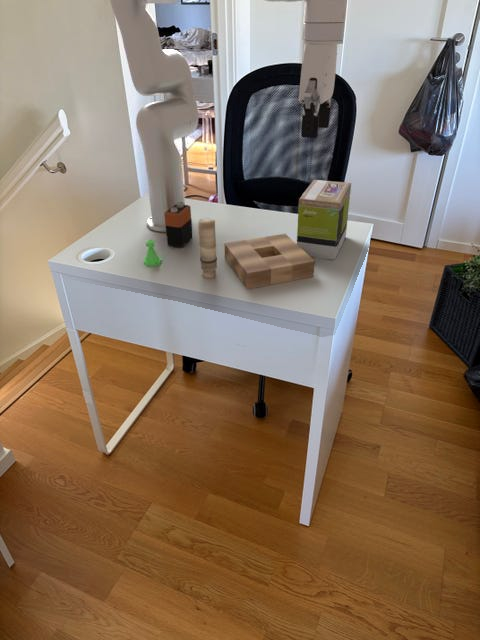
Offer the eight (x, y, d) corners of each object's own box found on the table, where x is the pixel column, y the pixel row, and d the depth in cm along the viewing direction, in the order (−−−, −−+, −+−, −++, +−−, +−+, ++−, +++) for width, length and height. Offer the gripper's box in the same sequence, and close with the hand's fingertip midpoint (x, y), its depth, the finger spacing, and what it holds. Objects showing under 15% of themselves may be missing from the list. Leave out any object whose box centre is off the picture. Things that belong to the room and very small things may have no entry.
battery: (193, 238, 123) (190, 201, 118) (182, 248, 118) (178, 211, 112) (178, 236, 125) (175, 199, 119) (166, 246, 119) (162, 208, 114)
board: (224, 258, 113) (224, 243, 111) (284, 248, 118) (285, 233, 115) (247, 289, 101) (247, 273, 99) (313, 276, 105) (314, 261, 103)
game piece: (165, 260, 113) (162, 237, 109) (154, 268, 109) (151, 244, 106) (150, 257, 114) (147, 234, 111) (140, 264, 111) (136, 241, 108)
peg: (199, 272, 107) (195, 219, 100) (214, 270, 108) (212, 217, 101) (203, 280, 104) (200, 226, 97) (219, 277, 105) (217, 223, 98)
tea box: (309, 232, 126) (313, 177, 118) (346, 237, 123) (353, 181, 115) (294, 255, 115) (298, 196, 106) (335, 261, 112) (342, 202, 103)
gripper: (314, 31, 93) (308, 122, 103) (289, 36, 80) (285, 140, 90) (352, 32, 91) (342, 125, 100) (333, 37, 78) (323, 143, 87)
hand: (315, 132), depth 95 cm, fingers open, 9 cm apart
